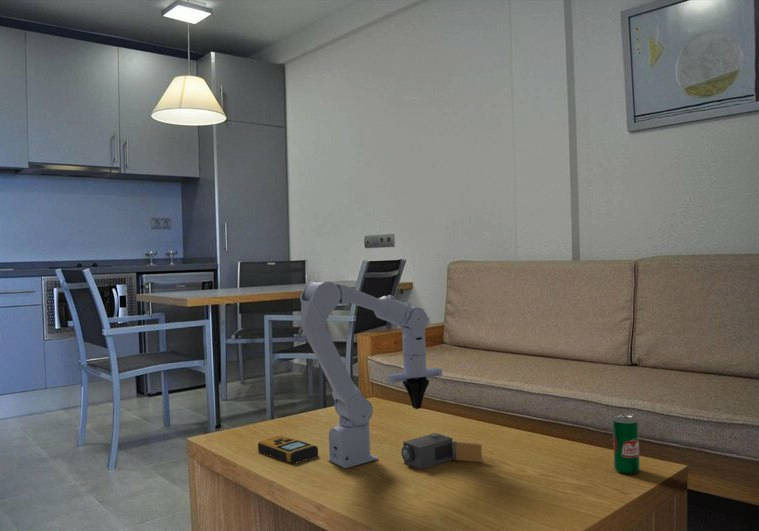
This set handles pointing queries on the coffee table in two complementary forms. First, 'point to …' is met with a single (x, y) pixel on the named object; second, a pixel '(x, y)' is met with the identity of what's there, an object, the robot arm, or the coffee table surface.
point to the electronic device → (287, 449)
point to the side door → (467, 451)
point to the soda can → (626, 443)
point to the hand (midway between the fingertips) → (416, 408)
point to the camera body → (427, 451)
